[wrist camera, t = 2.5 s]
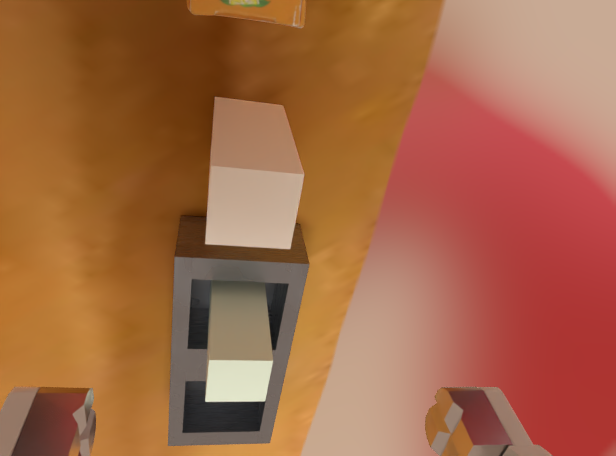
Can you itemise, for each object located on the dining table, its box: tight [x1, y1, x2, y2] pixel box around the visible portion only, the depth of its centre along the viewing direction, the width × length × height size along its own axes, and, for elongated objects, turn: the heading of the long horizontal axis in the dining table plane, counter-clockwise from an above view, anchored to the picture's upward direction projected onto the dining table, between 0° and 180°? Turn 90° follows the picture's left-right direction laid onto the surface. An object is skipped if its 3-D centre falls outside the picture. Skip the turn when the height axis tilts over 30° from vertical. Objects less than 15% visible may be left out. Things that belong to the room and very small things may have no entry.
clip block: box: [205, 97, 304, 249], centre depth 22 cm, size 4×4×8 cm
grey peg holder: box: [168, 216, 309, 446], centre depth 31 cm, size 16×7×4 cm, turn 170°
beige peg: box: [205, 280, 273, 402], centre depth 26 cm, size 3×3×8 cm
